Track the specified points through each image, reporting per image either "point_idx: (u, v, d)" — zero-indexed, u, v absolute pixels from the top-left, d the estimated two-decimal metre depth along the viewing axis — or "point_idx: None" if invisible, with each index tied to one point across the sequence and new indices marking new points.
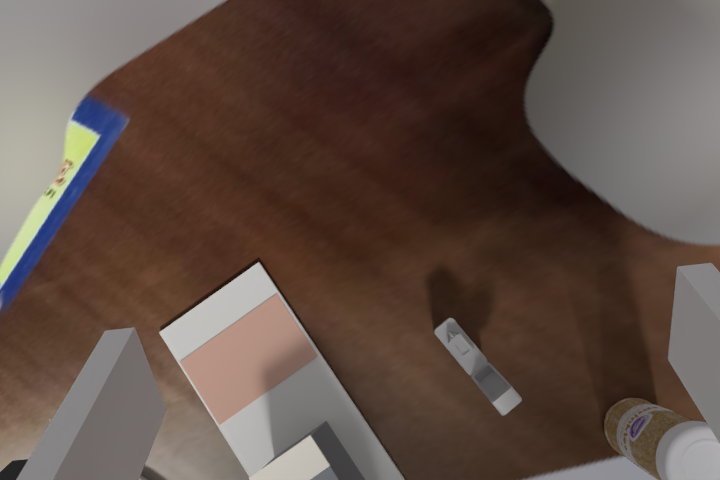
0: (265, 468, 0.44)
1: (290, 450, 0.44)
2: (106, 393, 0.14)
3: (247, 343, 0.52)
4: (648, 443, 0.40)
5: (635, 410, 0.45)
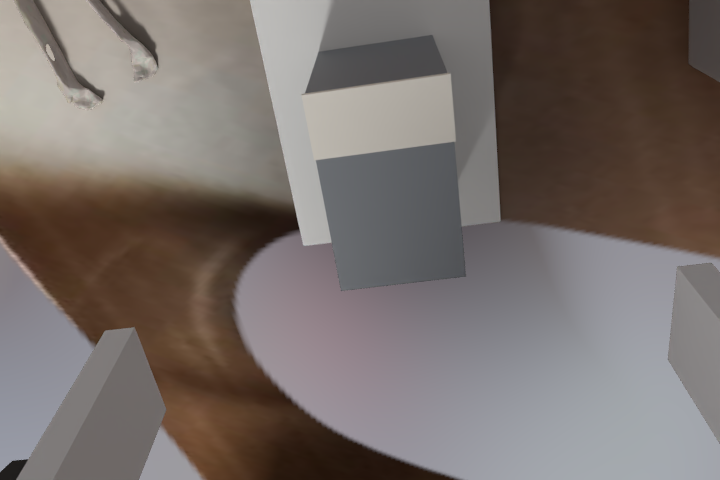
0: (339, 92, 0.22)
1: (401, 83, 0.22)
2: (106, 393, 0.14)
3: None
4: None
5: None
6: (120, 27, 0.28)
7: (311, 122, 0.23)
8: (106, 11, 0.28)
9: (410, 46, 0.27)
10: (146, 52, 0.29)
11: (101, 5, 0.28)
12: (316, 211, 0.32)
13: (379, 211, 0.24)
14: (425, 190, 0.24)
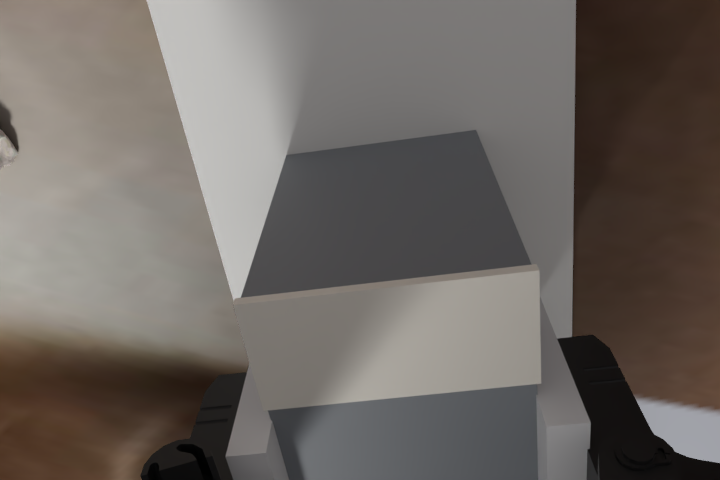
0: (310, 300, 0.11)
1: (436, 286, 0.11)
2: None
3: None
4: None
5: None
6: None
7: (255, 350, 0.11)
8: None
9: (441, 158, 0.15)
10: None
11: None
12: None
13: None
14: (475, 455, 0.13)
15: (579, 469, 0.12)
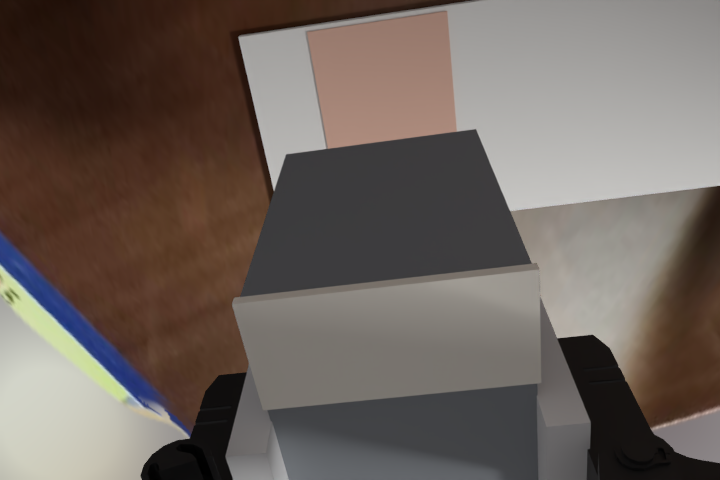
0: (310, 300, 0.11)
1: (435, 285, 0.11)
2: None
3: (365, 120, 0.30)
4: None
5: None
6: None
7: (255, 349, 0.11)
8: None
9: (441, 158, 0.15)
10: None
11: None
12: None
13: None
14: (475, 455, 0.13)
15: (579, 469, 0.12)
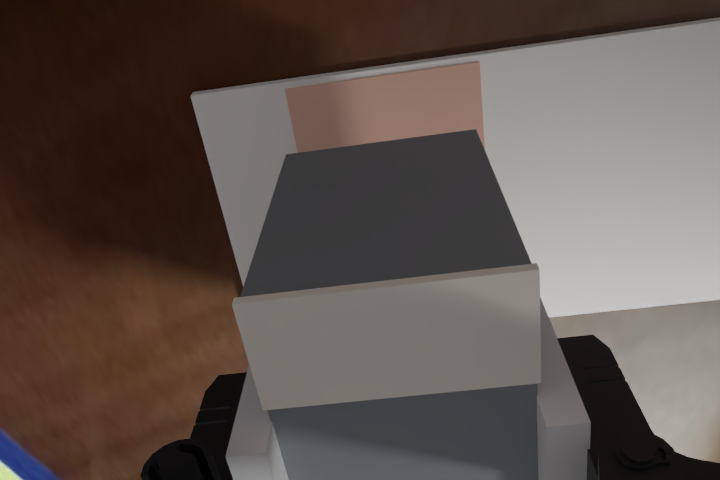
0: (310, 300, 0.11)
1: (435, 286, 0.11)
2: None
3: None
4: None
5: None
6: None
7: (255, 349, 0.11)
8: None
9: (441, 158, 0.15)
10: None
11: None
12: None
13: None
14: (475, 455, 0.13)
15: (579, 469, 0.12)
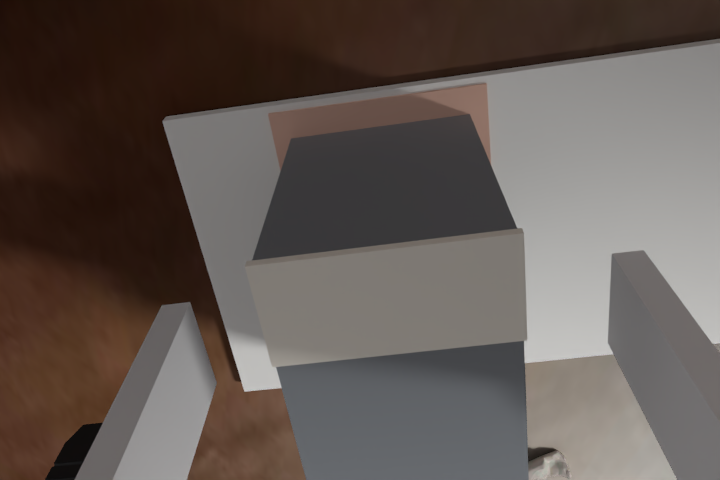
0: (316, 262, 0.12)
1: (430, 248, 0.12)
2: (169, 362, 0.15)
3: None
4: None
5: None
6: None
7: (265, 309, 0.12)
8: None
9: (437, 139, 0.16)
10: (537, 466, 0.24)
11: None
12: None
13: (388, 439, 0.14)
14: (468, 410, 0.14)
15: None
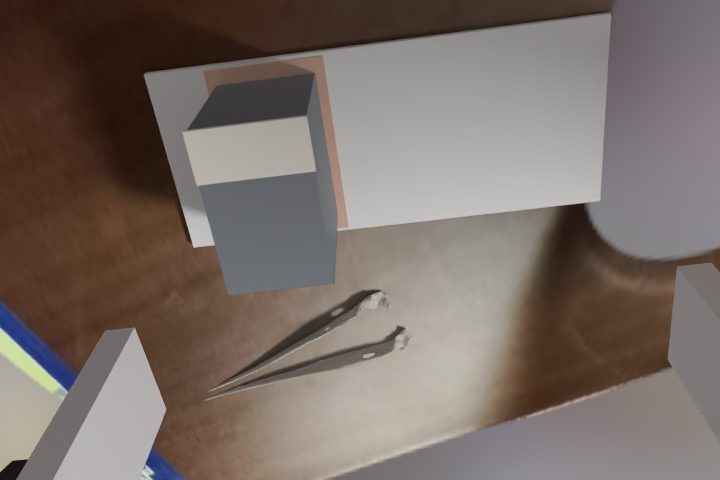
0: (214, 130, 0.26)
1: (265, 123, 0.26)
2: (106, 393, 0.14)
3: None
4: None
5: None
6: (350, 312, 0.39)
7: (192, 154, 0.27)
8: (341, 317, 0.40)
9: (291, 84, 0.31)
10: (367, 299, 0.39)
11: (337, 319, 0.40)
12: (567, 188, 0.36)
13: (256, 228, 0.29)
14: (293, 211, 0.28)
15: None
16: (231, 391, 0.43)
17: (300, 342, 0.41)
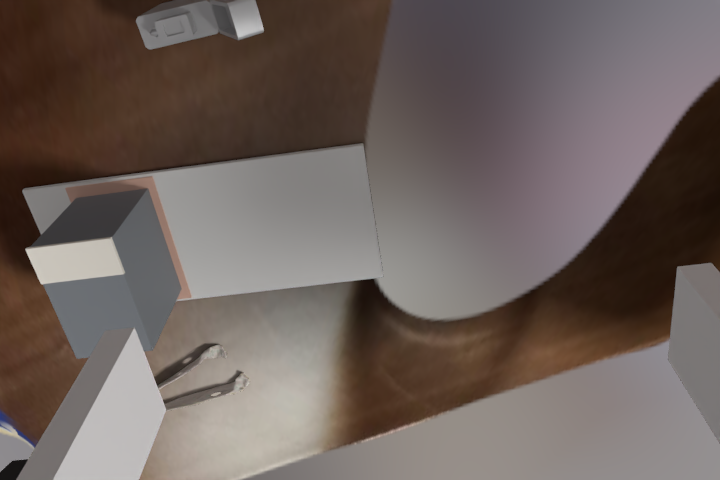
0: (47, 247, 0.37)
1: (82, 243, 0.37)
2: (105, 393, 0.14)
3: None
4: None
5: None
6: (196, 360, 0.50)
7: (34, 263, 0.38)
8: (190, 364, 0.51)
9: (124, 200, 0.42)
10: (207, 351, 0.49)
11: (187, 366, 0.51)
12: (355, 268, 0.46)
13: (89, 312, 0.39)
14: (113, 300, 0.39)
15: None
16: None
17: (160, 384, 0.51)
